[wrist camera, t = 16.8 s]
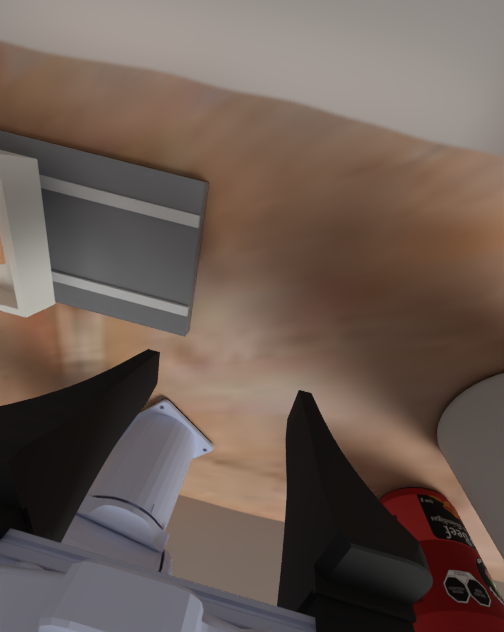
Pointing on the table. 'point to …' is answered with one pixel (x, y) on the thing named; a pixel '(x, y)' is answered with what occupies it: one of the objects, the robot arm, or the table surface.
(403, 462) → the table surface
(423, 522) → the canned food
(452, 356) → the table surface
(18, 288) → the white shallow tray
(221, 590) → the robot arm
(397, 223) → the table surface
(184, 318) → the track
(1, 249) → the block
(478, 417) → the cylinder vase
